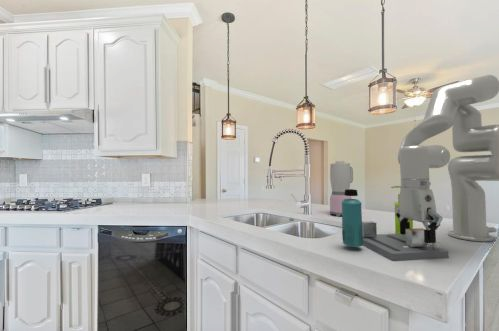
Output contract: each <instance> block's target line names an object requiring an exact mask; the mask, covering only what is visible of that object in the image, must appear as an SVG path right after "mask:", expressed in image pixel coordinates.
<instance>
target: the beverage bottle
mask: <svg viewBox="0 0 499 331" xmlns="http://www.w3.org/2000/svg"><path fill="white" fill-rule="evenodd" d="M345 196H351V197H358V196H359V195H358V190H357V189H354V188H349V189H347V190H345ZM362 222H363V214H362V202H361V201H360V200H359V199H357V198H352V199H344V200H343V201H342V215H341V225H342V227H341V228H342V229H341V235H342V237H341V239H342V244H343V245H345V246H348V247H354V248H359V247H362V246H363V245H362V244H363V236H362V230H363V225H362V224H363V223H362Z"/></svg>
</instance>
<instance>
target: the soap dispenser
mask: <svg viewBox="0 0 499 331" xmlns="http://www.w3.org/2000/svg"><path fill="white" fill-rule="evenodd" d="M390 188H392V189H394V188H395V189H397V188H399V189H401V185H394V186H391V187H390ZM399 197H400V193H399V194H397V200H398V202H394V208H395V207H397V206H399ZM396 214H397V213H396V211H395V210H394V228H395V230H394V232H395V233H394V234H400V222H399V221H398V217H397V216H396ZM408 222H410V229H414V220H410V219H409V220H408ZM401 235H404V236H406V234H401Z"/></svg>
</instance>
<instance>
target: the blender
mask: <svg viewBox="0 0 499 331" xmlns="http://www.w3.org/2000/svg"><path fill="white" fill-rule="evenodd" d="M329 167H330V168H329V173H330V174H329V176H330V177H329V180H330V185H331V186H330V187H331V194H330V196H329V214H330V216H332V215H335V216H336V217H338V218H340V217H341V216H342V201H343V200H344V199H353V198H352V196H345V190H347V189H351V188H350V187H351V184H352V183H353V182H354V169H353V168H352V166H351V164H350V163H348V162H346V163H345V161H344V160H343V161H342V160H340V161H339V160H338V161H337V160H335V162H334V163H330V166H329Z"/></svg>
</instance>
